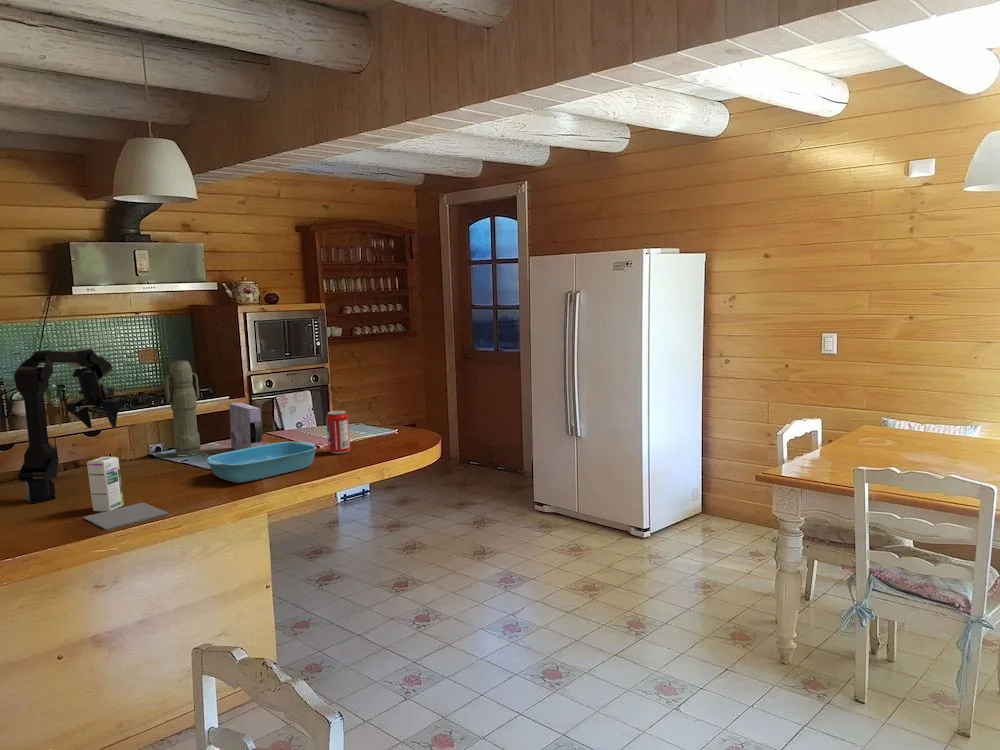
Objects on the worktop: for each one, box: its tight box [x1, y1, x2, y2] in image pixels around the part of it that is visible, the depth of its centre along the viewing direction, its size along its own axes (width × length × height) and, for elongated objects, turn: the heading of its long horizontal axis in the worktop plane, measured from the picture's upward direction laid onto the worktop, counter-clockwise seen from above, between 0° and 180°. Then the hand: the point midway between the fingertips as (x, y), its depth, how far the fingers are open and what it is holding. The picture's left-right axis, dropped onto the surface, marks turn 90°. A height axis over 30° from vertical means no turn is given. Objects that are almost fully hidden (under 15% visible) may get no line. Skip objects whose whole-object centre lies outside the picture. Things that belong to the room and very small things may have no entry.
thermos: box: [163, 359, 201, 455], centre depth 272 cm, size 9×12×35 cm
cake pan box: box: [228, 402, 263, 451], centre depth 274 cm, size 19×5×18 cm, turn 42°
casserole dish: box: [206, 441, 317, 484], centre depth 244 cm, size 37×22×7 cm, turn 138°
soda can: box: [325, 410, 351, 455], centre depth 267 cm, size 8×8×15 cm
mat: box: [83, 502, 169, 531], centre depth 201 cm, size 16×16×1 cm
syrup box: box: [86, 456, 125, 512], centre depth 208 cm, size 6×6×14 cm
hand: (102, 427), depth 251 cm, fingers open, 9 cm apart
